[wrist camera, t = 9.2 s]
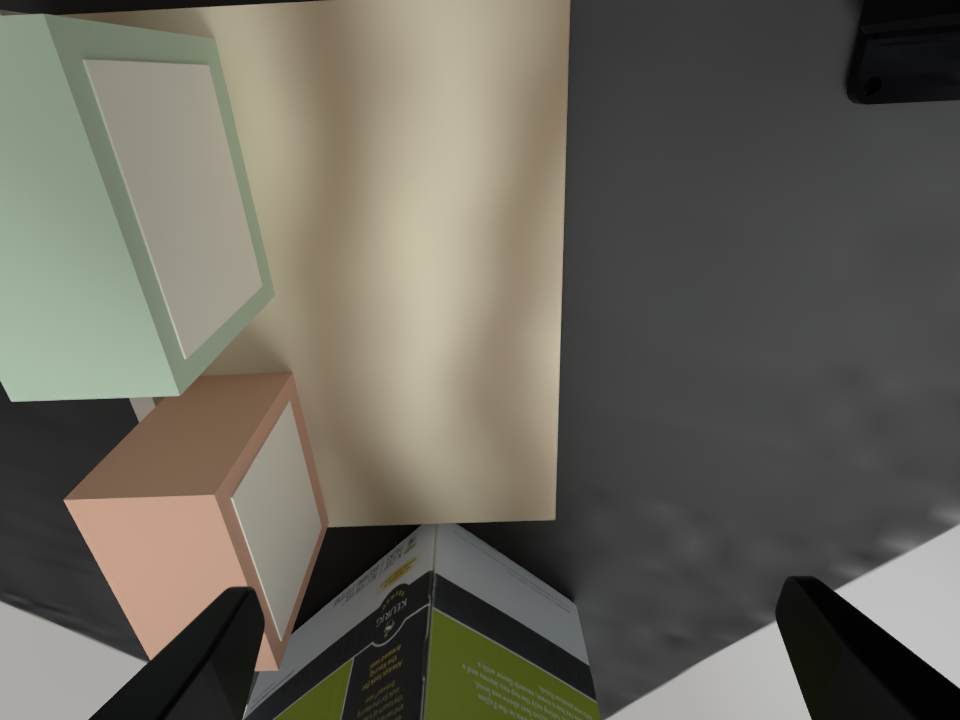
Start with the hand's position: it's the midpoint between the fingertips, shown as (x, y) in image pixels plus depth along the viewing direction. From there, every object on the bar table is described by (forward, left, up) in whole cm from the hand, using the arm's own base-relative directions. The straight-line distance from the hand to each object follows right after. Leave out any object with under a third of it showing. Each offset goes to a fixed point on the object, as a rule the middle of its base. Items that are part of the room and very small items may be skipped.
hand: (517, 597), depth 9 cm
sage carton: (+10, -5, -11) cm, 15 cm away
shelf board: (+5, 0, -12) cm, 14 cm away
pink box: (+10, +5, -11) cm, 15 cm away
